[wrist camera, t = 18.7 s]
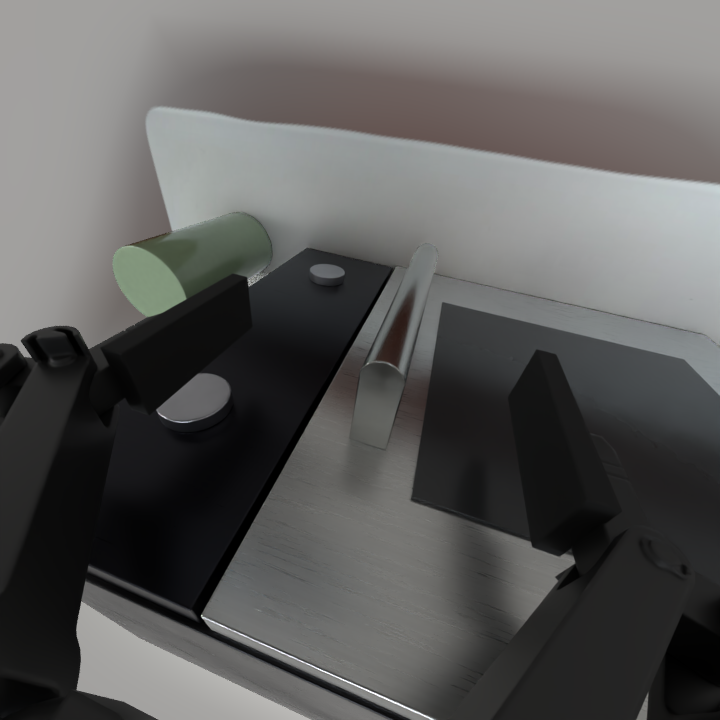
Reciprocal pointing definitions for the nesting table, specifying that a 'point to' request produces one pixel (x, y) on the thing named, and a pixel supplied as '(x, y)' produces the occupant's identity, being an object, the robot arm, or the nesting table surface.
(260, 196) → the nesting table surface
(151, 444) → the microwave
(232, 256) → the canister
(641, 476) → the microwave door
